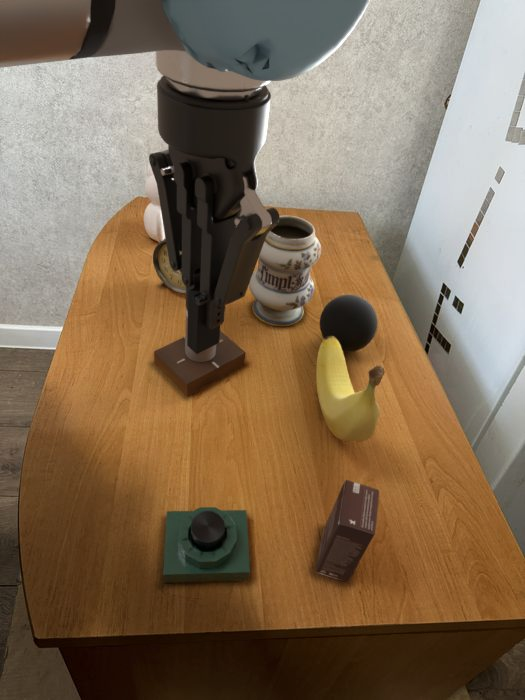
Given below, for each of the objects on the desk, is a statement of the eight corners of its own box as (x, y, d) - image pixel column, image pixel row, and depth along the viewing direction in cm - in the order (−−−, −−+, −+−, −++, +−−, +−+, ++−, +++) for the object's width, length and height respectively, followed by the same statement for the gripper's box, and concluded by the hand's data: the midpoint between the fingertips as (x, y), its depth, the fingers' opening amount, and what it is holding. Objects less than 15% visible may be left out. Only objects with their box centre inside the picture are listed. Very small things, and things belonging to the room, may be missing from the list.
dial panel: (187, 397, 83) (187, 383, 81) (153, 363, 87) (153, 350, 85) (245, 365, 89) (246, 351, 87) (211, 335, 94) (211, 322, 92)
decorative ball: (323, 319, 101) (334, 276, 94) (374, 336, 99) (389, 293, 92) (308, 352, 94) (318, 307, 87) (362, 370, 92) (377, 327, 85)
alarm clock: (152, 287, 102) (149, 211, 91) (167, 274, 106) (166, 199, 95) (201, 307, 99) (204, 231, 88) (215, 292, 103) (220, 218, 92)
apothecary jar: (262, 283, 107) (273, 202, 95) (317, 304, 104) (336, 222, 92) (235, 316, 99) (243, 231, 86) (294, 339, 96) (311, 254, 84)
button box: (163, 582, 62) (162, 567, 59) (167, 519, 68) (166, 503, 65) (248, 580, 63) (251, 565, 60) (244, 518, 69) (247, 502, 66)
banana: (306, 362, 92) (328, 266, 78) (339, 363, 92) (367, 268, 79) (327, 475, 75) (360, 378, 62) (366, 475, 76) (408, 379, 62)
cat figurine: (187, 223, 121) (188, 159, 111) (183, 253, 112) (184, 187, 102) (147, 220, 120) (144, 156, 110) (140, 250, 111) (136, 183, 101)
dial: (222, 353, 87) (225, 314, 81) (197, 366, 84) (199, 327, 78) (203, 337, 89) (204, 298, 83) (178, 349, 86) (178, 309, 81)
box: (350, 583, 64) (376, 535, 56) (314, 573, 65) (334, 523, 56) (356, 539, 68) (380, 488, 60) (322, 529, 69) (342, 477, 61)
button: (190, 551, 61) (190, 542, 60) (190, 519, 64) (191, 510, 63) (224, 550, 62) (225, 542, 60) (223, 519, 65) (224, 510, 63)
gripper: (326, 104, 33) (278, 366, 49) (199, 47, 40) (193, 296, 56) (235, 124, 29) (215, 403, 45) (111, 56, 36) (131, 322, 52)
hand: (203, 344), depth 51 cm, fingers closed
